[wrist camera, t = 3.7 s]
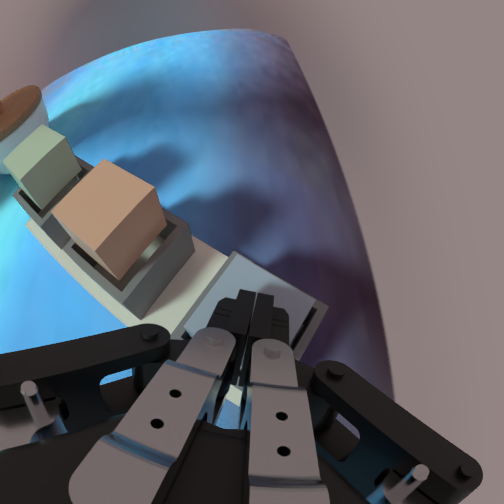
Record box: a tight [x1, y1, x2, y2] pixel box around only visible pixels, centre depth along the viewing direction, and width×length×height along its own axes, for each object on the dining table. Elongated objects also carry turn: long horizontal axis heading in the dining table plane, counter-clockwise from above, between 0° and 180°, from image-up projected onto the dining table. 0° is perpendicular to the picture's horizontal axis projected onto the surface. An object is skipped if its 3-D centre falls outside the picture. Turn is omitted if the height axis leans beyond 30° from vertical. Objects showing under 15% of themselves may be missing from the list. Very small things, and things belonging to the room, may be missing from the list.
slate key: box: [183, 254, 315, 372], centre depth 15 cm, size 4×4×4 cm
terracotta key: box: [51, 159, 167, 281], centre depth 15 cm, size 4×4×4 cm
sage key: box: [2, 124, 82, 210], centre depth 17 cm, size 4×4×4 cm
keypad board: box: [13, 156, 329, 407], centre depth 19 cm, size 25×8×5 cm, turn 58°
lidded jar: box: [0, 86, 49, 174], centre depth 23 cm, size 11×11×9 cm
